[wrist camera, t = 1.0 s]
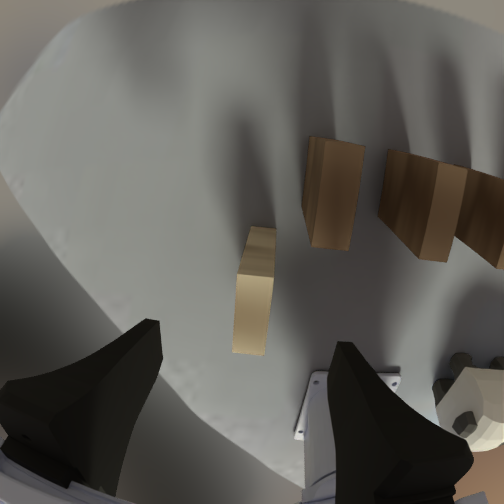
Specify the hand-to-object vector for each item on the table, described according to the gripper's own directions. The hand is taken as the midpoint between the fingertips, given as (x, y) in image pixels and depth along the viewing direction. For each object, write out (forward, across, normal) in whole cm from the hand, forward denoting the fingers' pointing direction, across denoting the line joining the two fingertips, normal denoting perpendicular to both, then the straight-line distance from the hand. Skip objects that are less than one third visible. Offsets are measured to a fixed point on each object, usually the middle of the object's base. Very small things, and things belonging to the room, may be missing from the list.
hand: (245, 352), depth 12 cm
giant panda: (+10, -23, +10) cm, 27 cm away
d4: (+10, -8, -6) cm, 14 cm away
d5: (+10, -3, -6) cm, 12 cm away
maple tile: (+10, 0, 0) cm, 10 cm away
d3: (+10, -13, -6) cm, 17 cm away
